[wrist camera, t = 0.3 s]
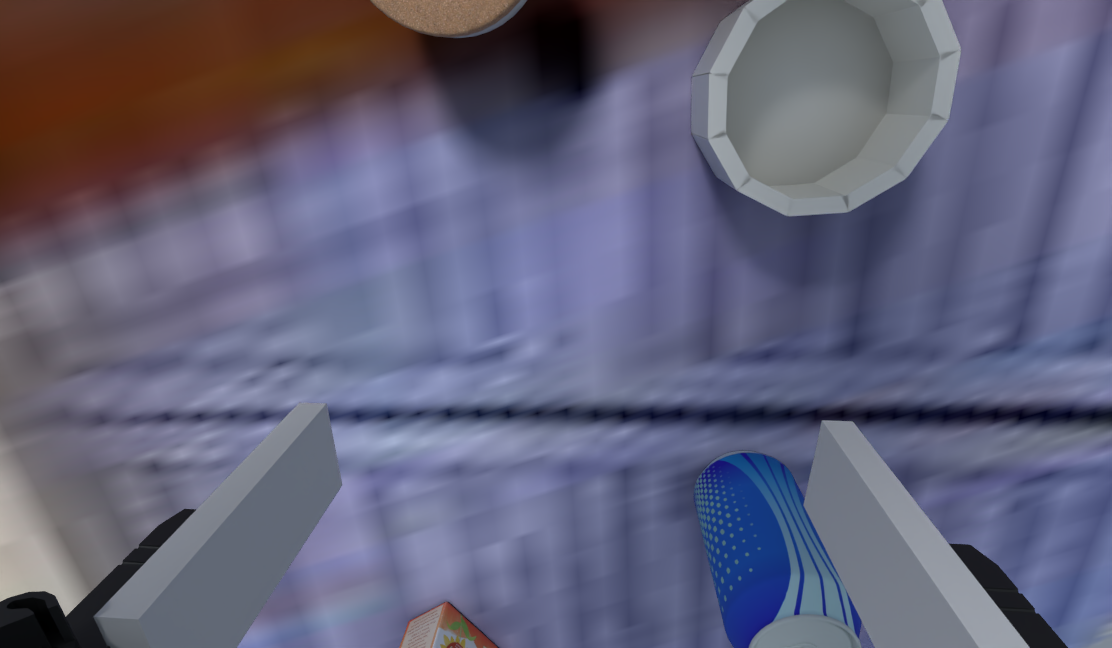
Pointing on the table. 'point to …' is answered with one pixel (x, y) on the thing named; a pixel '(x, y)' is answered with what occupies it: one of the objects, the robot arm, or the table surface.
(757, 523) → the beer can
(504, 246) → the table surface
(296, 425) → the robot arm
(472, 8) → the lidded jar
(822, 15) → the bowl
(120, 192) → the table surface
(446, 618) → the cracker box
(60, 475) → the table surface
